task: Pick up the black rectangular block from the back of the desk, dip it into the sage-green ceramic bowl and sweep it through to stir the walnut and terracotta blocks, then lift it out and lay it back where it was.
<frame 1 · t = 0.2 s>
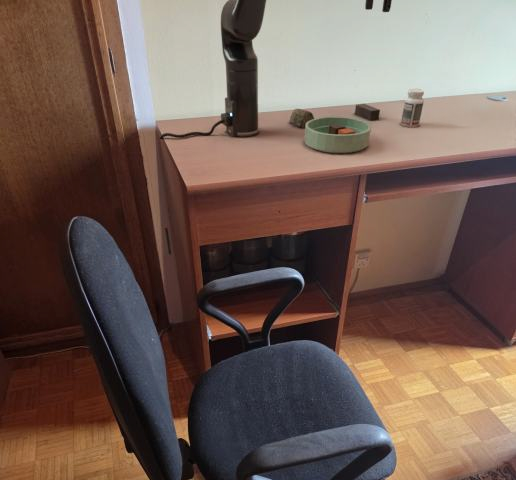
hand: (377, 10, 135), 29 cm above the table, tool pointing down, fingers open, 8 cm apart
pill bottle: (409, 125, 146), on the table
rock: (302, 124, 147), on the table
terracotta block: (345, 143, 130), point 1 cm above the table, touching bowl
black rectangular block: (366, 116, 153), on the table
walnut block: (336, 138, 133), point 1 cm above the table, touching bowl
bowl: (336, 143, 131), on the table
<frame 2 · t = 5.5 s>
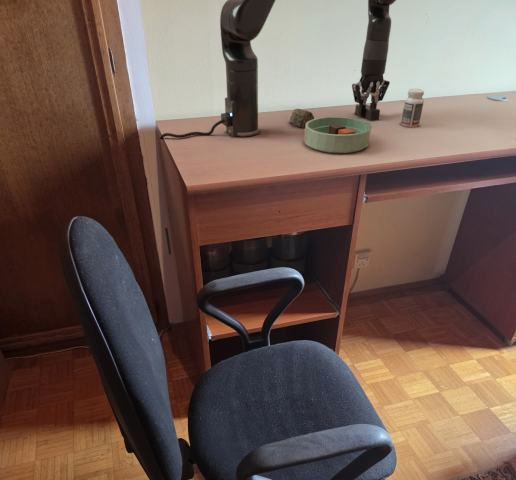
hand: (366, 115, 153), 0 cm above the table, tool pointing down, fingers closed on black rectangular block, 3 cm apart
black rectangular block: (366, 116, 153), on the table, touching gripper
everything else where it was.
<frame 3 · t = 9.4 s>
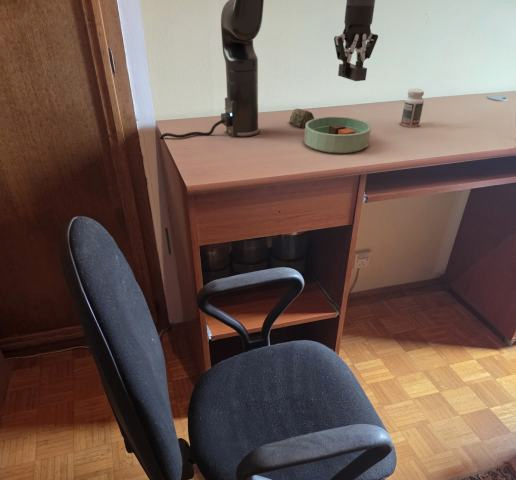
hand: (351, 76, 131), 15 cm above the table, tool pointing down, fingers closed on black rectangular block, 3 cm apart
black rectangular block: (351, 77, 132), point 15 cm above the table, touching gripper
everything else where it was.
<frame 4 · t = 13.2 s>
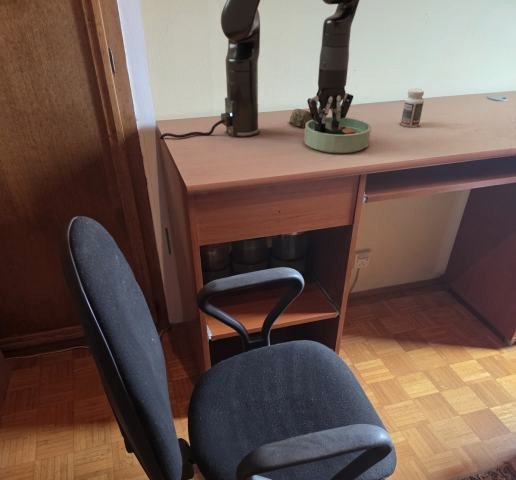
hand: (327, 135, 128), 3 cm above the table, tool pointing down, fingers closed on black rectangular block, 3 cm apart
terracotta block: (345, 143, 130), point 1 cm above the table, touching bowl, gripper
black rectangular block: (327, 136, 129), point 2 cm above the table, touching gripper
walnut block: (336, 138, 133), point 1 cm above the table, touching bowl, gripper
everything else where it was.
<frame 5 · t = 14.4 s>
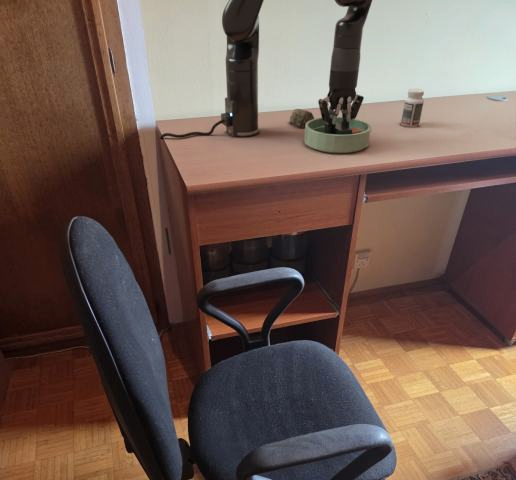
hand: (337, 136, 130), 2 cm above the table, tool pointing down, fingers closed on black rectangular block, 3 cm apart
terracotta block: (352, 143, 130), point 1 cm above the table, touching bowl, black rectangular block
black rectangular block: (337, 137, 130), point 2 cm above the table, touching gripper, terracotta block, walnut block
walnut block: (339, 136, 135), point 1 cm above the table, touching bowl, black rectangular block
everything else where it was.
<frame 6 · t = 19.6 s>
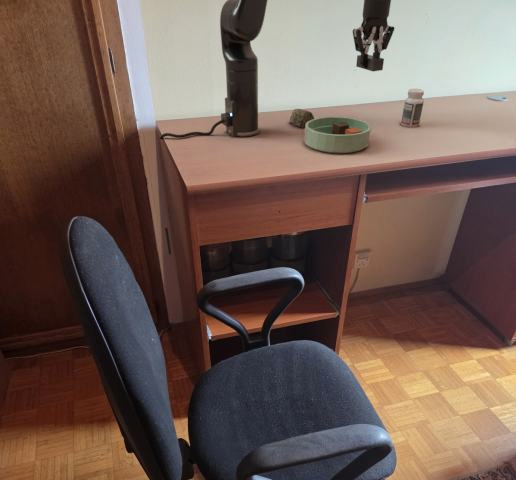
hand: (368, 66, 139), 16 cm above the table, tool pointing down, fingers closed on black rectangular block, 3 cm apart
terracotta block: (352, 143, 130), point 1 cm above the table, touching bowl
black rectangular block: (369, 68, 139), point 15 cm above the table, touching gripper
walnut block: (339, 136, 134), point 1 cm above the table, touching bowl
everything else where it was.
when the fingers open (0 cm above the table, at t = 23.8 s): black rectangular block stays where it is, on the table.
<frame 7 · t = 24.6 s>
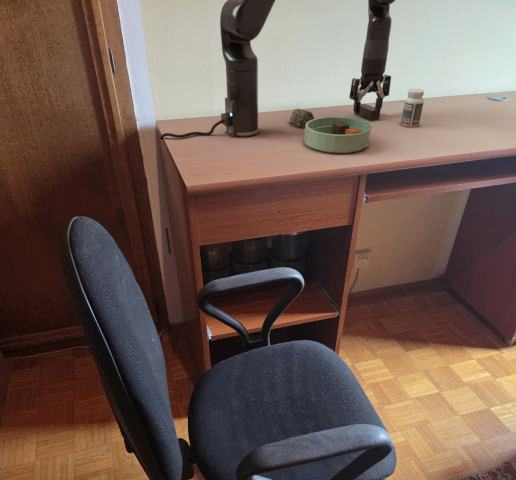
hand: (367, 112, 152), 2 cm above the table, tool pointing down, fingers open, 8 cm apart
black rectangular block: (366, 116, 153), on the table
everything else where it was.
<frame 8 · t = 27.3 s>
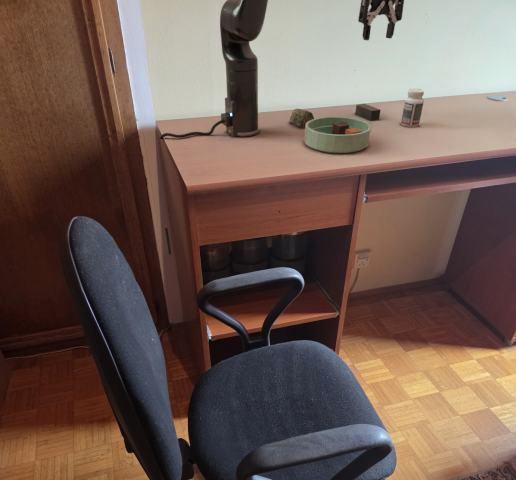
hand: (377, 39, 138), 22 cm above the table, tool pointing down, fingers open, 8 cm apart
nothing on the table moved.
at the end: walnut block moved 2.3 cm from its start; walnut block inside the target area in the bowl (5.0 cm from its centre), point 0.6 cm above the bowl's base; black rectangular block inside the target area (0.1 cm from its centre), on the table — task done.
